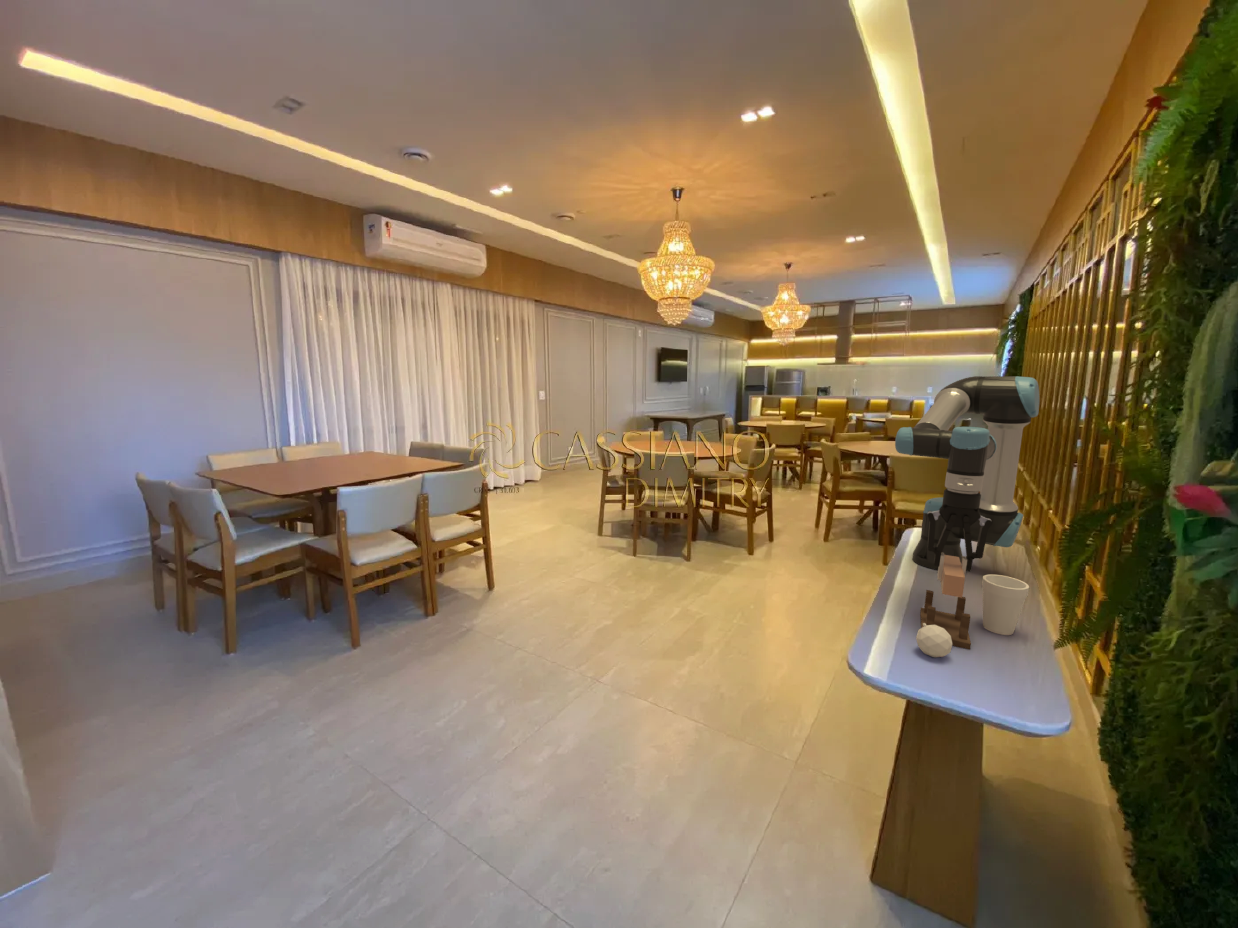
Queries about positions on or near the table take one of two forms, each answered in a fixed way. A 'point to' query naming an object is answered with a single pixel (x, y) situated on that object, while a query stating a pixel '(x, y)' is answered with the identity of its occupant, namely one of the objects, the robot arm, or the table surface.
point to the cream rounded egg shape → (934, 640)
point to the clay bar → (952, 577)
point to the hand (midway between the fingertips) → (950, 580)
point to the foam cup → (1002, 603)
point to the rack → (948, 620)
